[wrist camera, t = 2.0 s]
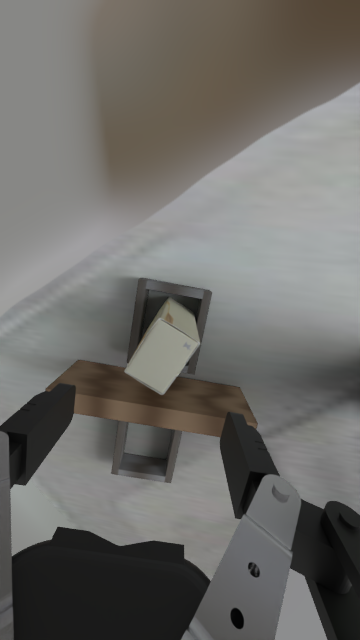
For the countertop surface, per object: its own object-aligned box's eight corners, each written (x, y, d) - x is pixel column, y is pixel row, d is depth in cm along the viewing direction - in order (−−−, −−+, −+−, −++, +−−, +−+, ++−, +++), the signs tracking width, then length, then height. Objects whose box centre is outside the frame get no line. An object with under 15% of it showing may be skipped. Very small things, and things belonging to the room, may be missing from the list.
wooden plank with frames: (263, 300, 30) (291, 311, 22) (216, 472, 37) (226, 528, 29) (86, 267, 29) (52, 266, 22) (70, 450, 36) (39, 500, 28)
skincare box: (168, 295, 30) (160, 312, 18) (195, 312, 31) (204, 340, 19) (143, 333, 31) (121, 373, 19) (169, 349, 32) (162, 397, 20)
